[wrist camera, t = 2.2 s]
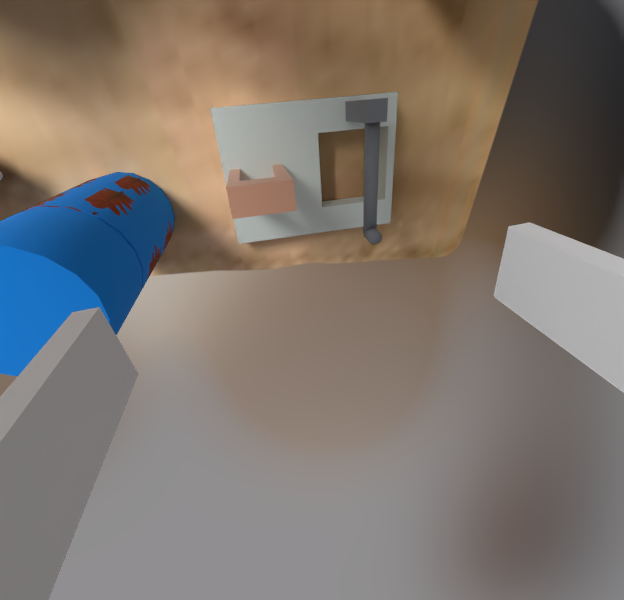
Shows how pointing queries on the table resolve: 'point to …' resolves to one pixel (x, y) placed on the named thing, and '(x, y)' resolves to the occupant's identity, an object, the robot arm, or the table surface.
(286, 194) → the pink notched block
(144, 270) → the thermos
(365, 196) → the slider lever panel
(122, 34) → the table surface
